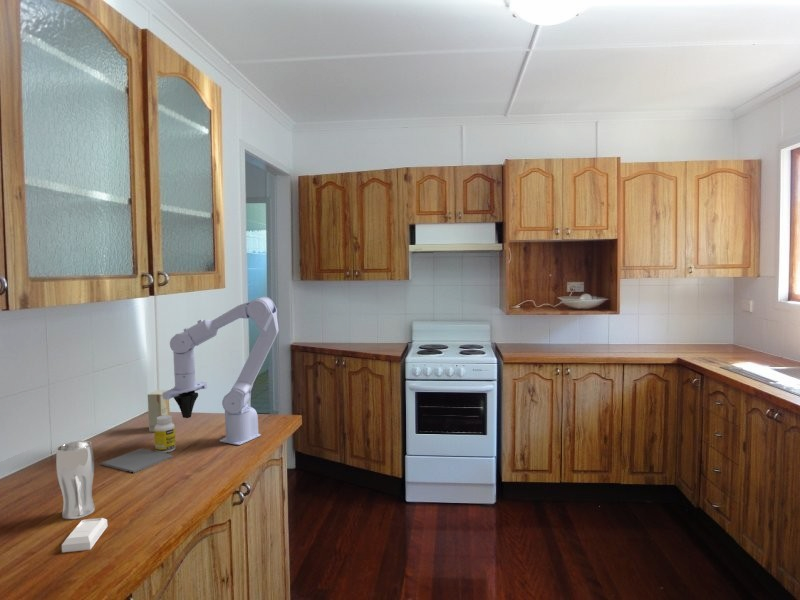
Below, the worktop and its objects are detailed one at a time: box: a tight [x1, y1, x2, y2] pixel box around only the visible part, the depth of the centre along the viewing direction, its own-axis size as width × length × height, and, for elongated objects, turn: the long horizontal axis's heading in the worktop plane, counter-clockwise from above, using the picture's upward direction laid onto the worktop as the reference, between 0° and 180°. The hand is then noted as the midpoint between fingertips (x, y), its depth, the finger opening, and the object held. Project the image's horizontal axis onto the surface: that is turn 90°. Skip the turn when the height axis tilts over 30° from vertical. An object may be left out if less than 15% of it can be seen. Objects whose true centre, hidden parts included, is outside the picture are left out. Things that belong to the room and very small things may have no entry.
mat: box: [101, 447, 173, 474], centre depth 146 cm, size 12×13×1 cm
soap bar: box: [61, 517, 109, 553], centre depth 106 cm, size 5×9×3 cm, turn 10°
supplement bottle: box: [153, 414, 176, 454], centre depth 154 cm, size 5×5×10 cm
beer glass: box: [55, 440, 96, 520], centre depth 116 cm, size 7×7×15 cm
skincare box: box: [147, 389, 171, 433], centre depth 173 cm, size 6×4×12 cm
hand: (186, 417), depth 160 cm, fingers closed
